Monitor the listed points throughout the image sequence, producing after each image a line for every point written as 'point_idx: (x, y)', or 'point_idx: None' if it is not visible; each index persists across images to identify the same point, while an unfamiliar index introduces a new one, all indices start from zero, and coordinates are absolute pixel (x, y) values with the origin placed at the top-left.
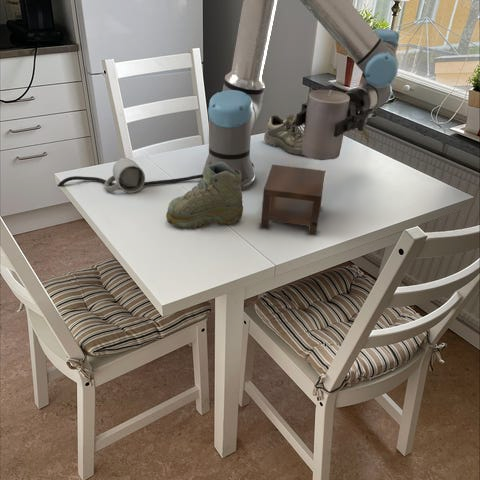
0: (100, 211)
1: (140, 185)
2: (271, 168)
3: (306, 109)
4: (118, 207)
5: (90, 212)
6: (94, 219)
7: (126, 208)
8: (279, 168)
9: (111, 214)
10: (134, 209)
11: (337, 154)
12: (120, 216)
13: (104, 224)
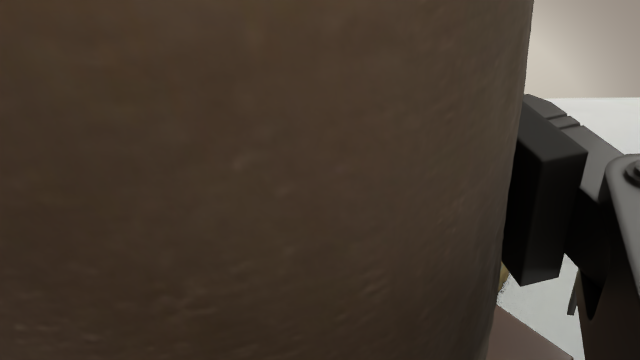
0: (622, 108)
1: None
2: (517, 321)
3: None
4: (635, 129)
5: (622, 98)
6: (585, 98)
7: (624, 137)
8: (499, 355)
9: (600, 116)
10: (613, 145)
11: None
12: (583, 123)
13: (556, 103)
